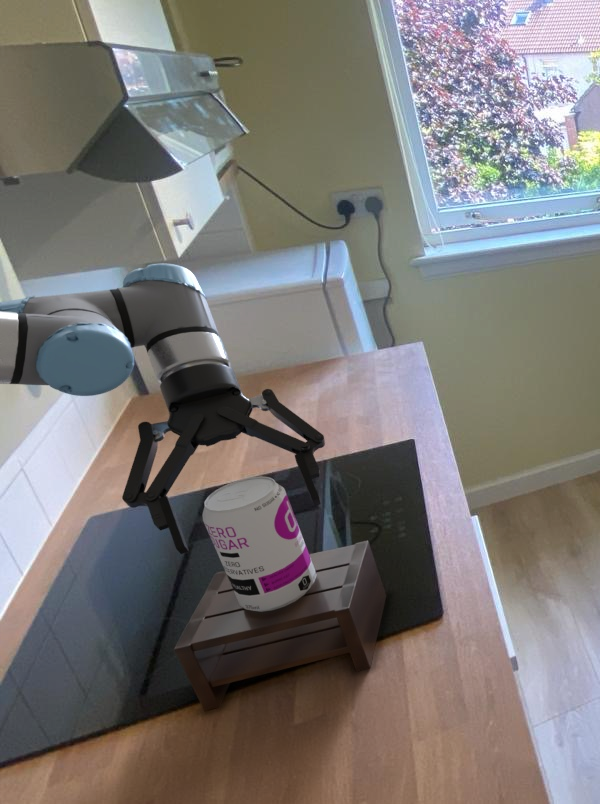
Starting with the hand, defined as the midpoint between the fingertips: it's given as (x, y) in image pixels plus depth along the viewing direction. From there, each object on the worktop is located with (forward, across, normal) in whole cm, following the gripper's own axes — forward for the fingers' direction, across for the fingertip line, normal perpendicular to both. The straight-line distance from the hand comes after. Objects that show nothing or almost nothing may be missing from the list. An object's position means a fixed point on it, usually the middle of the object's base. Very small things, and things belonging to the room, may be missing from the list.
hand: (252, 525), depth 89 cm
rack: (+14, 0, -14) cm, 20 cm away
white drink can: (+8, 0, -7) cm, 10 cm away
